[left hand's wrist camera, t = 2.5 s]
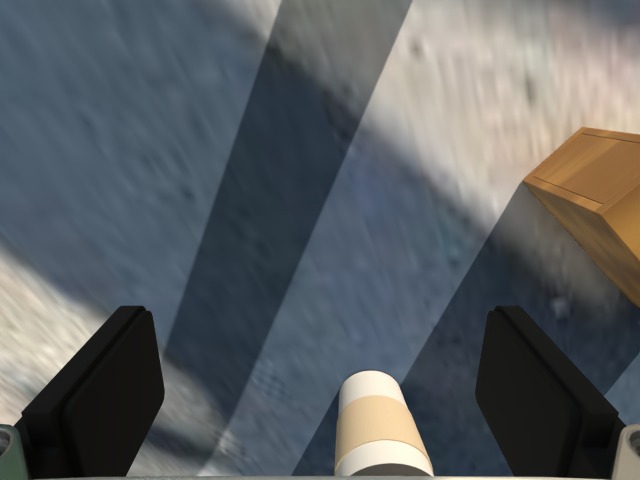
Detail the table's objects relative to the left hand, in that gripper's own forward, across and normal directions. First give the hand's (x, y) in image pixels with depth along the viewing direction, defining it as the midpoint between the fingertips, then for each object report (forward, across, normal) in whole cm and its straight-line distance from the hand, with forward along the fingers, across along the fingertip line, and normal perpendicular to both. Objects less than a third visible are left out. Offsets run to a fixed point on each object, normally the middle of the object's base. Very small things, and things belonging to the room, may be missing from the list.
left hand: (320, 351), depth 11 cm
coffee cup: (+27, -6, +25) cm, 37 cm away
